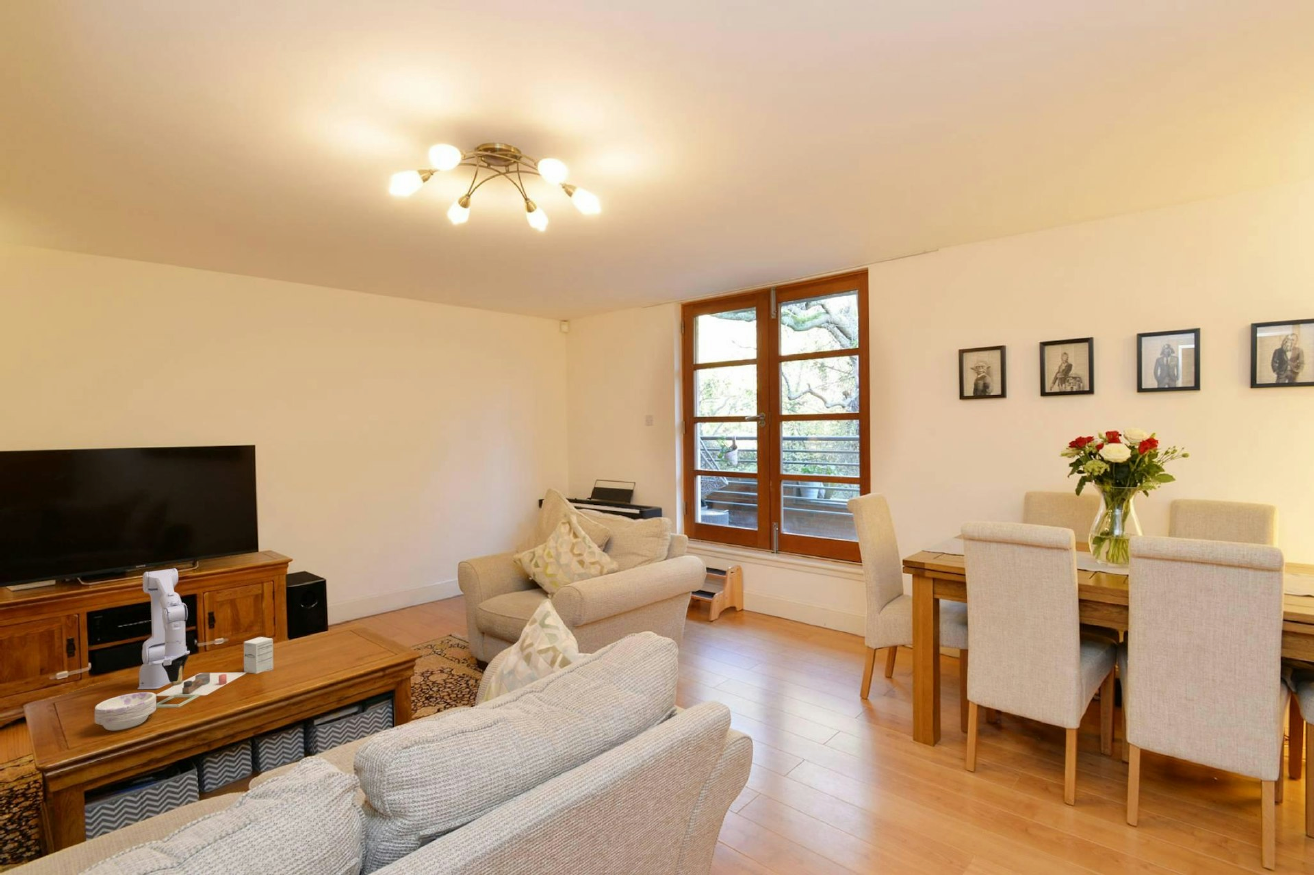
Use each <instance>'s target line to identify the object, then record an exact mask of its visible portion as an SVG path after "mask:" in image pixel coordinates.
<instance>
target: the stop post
mask: <svg viewBox="0 0 1314 875" xmlns="http://www.w3.org/2000/svg"><path fill="white" fill-rule="evenodd" d="M226 683H227V675H226V674H222V675H219V685H224V684H226ZM227 684H228V683H227ZM227 684H226V685H227ZM224 686H225V685H224Z"/></svg>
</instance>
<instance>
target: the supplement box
mask: <svg viewBox="0 0 1314 875" xmlns="http://www.w3.org/2000/svg"><path fill="white" fill-rule="evenodd" d="M272 670H274V639H273V638H271V637H270V638H269V637H265V636H258V637H255V638H252V639H249V640H246V641H243V672H247V673H251V674H256V675H257V674H260V673H263V672H270V671H272Z"/></svg>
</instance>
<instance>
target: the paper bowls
mask: <svg viewBox="0 0 1314 875" xmlns="http://www.w3.org/2000/svg"><path fill="white" fill-rule="evenodd" d="M156 695H157V694H156V693H154V692H151V691H150V692H149V691H145V692H144V691H143V692H133V693H127V694H126V693H125V694H122V695H118V696H115V697H112V698H108V699H106V700H103V701H101V702H100V703H98V704H97V705H95V707H94V723H95V724H96V725H101V726H102V727H103V728H104V729H105V730H107V731H111V732H112V731H122V730H127V729H131V728H133V727H137V726H139V725H142V724H143V723H144V722H146V720H148V717H149V715H151V714H153V713H154V712H155V711H156V710H157V708H156V703H157V696H156Z"/></svg>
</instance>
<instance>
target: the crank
mask: <svg viewBox="0 0 1314 875" xmlns="http://www.w3.org/2000/svg"><path fill="white" fill-rule="evenodd" d="M201 673H202V674H199V673H197V674H198V675H197V674H195V675H196V676H195V675H194V676H195V680H194V681H193V682H192V681H186V682H184V687H183V688H182V694H190V693H191V692H193V691H194V690H195V689H197V688H198V687H200V686H201V685H203V684H207V683H209V682H210V673H211V672H201Z"/></svg>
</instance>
